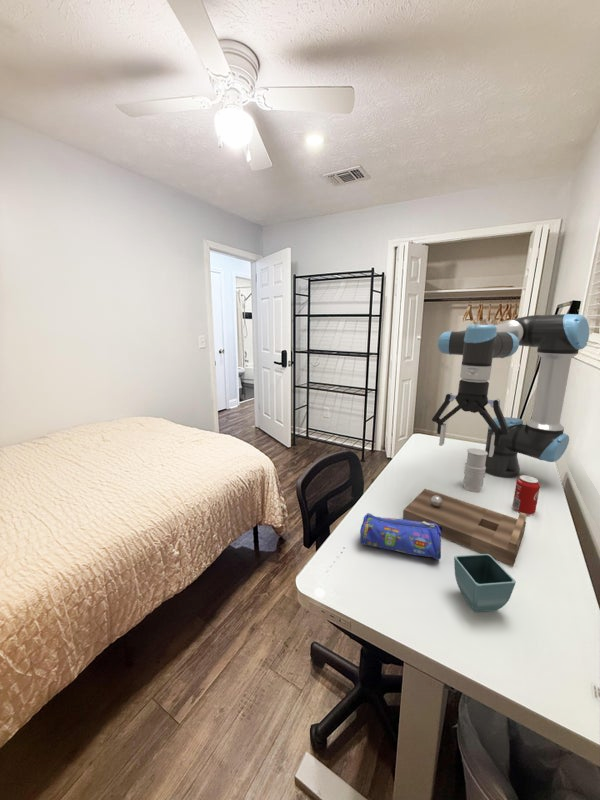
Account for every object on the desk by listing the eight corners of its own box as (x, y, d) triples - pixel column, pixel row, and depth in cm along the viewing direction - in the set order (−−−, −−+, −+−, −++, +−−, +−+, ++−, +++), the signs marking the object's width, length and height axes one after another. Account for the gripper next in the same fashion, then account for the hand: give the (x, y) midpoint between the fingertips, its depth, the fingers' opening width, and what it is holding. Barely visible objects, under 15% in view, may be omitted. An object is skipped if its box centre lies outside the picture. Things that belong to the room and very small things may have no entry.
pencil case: (440, 546, 90) (443, 516, 88) (444, 568, 82) (448, 535, 80) (361, 532, 96) (362, 504, 94) (357, 551, 88) (359, 520, 86)
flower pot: (448, 587, 75) (453, 555, 73) (484, 585, 76) (489, 553, 74) (471, 621, 67) (476, 585, 65) (510, 618, 68) (517, 582, 66)
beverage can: (538, 518, 103) (545, 484, 100) (517, 515, 104) (522, 482, 102) (529, 507, 109) (534, 475, 106) (508, 505, 110) (514, 473, 108)
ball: (432, 501, 105) (433, 492, 104) (443, 505, 103) (444, 495, 102) (428, 506, 102) (429, 496, 102) (439, 510, 100) (440, 500, 99)
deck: (424, 498, 115) (425, 482, 113) (523, 533, 95) (527, 514, 94) (402, 520, 102) (404, 502, 100) (513, 566, 82) (517, 544, 81)
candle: (463, 490, 120) (468, 453, 117) (461, 482, 126) (466, 447, 123) (483, 494, 118) (489, 456, 114) (481, 485, 124) (486, 449, 121)
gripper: (425, 377, 96) (419, 443, 101) (525, 387, 80) (512, 465, 85) (433, 374, 102) (427, 437, 106) (528, 383, 86) (516, 456, 91)
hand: (465, 449), depth 96 cm, fingers open, 13 cm apart
